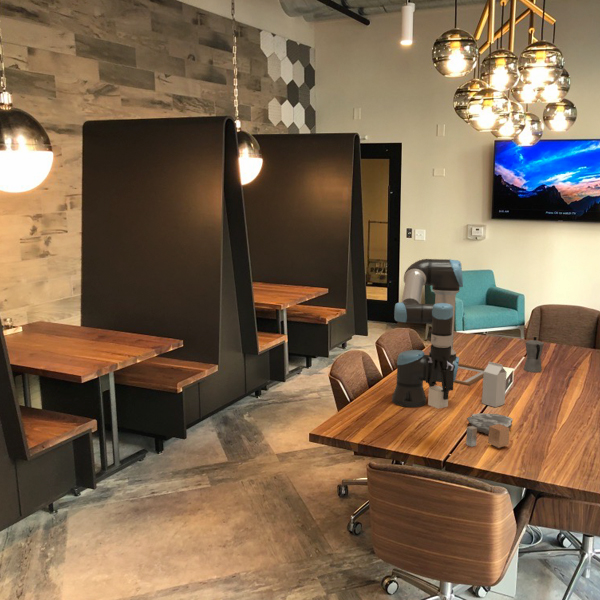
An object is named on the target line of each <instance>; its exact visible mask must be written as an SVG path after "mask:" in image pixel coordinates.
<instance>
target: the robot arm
mask: <svg viewBox="0 0 600 600" xmlns="http://www.w3.org/2000/svg"><path fill="white" fill-rule="evenodd" d="M403 282H404V286H403V292H402V298H401V301H400V302H397V303H395V305H394V314H393V315H394V317H393V318H394V321H396V322H400V323H413V324H415V323H416V324H430V325H431V335H430V337H431V338H430V344H431V345H430V349H429V351H428V353H429V354H425V352H424V350H419V349H409V350H405V351H402V352H400V353H399V354H398V355H397V362H396V365H397V367H396V385H395V389H394V392H393V393H392V396H391V402H392V403H393V404H395V405H396V406H399V407H404V408H405V407H406V408H418V407H423V406H425V405H426V404H427V396H426V394H425V390H424V389H425V388H424V385H423V384H424V382H425V383H426V384H428V386H429V387H428V389H429V388H431V387H437V384H438V383H441V387H442V389H443V390H441V399H440V408H439V409H444V408H447V399H448V400H449V392H450V391H453V390H454V383H453V382H454V381H455V380H457V375H458V374H457V373H458V370H459V368H458V364H460V363H459V362H460V357H459V356H457V352H456V350H455V349H454V330H455V312H456V298H457V296H456V295H457V294H458V293H459V292H460V289H461V288H462V287H464V280H463V270H462V263H461V261H460V260H458V259H451V258H449V259H443V258H442V259H441V258H438V259H437V258H433V259H432V258H423V259H419V260H417V261H415V262H413V263H411V265H410V266H408V267H407V268H406V270H405V272H404V275H403ZM424 286H431V287H432V289H431V290H432V292H434V294H435V301H434V304H433V303H422V295H423V289H424V288H423V287H424Z"/></svg>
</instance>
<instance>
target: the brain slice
mask: <svg viewBox="0 0 600 600" xmlns="http://www.w3.org/2000/svg"><path fill="white" fill-rule="evenodd" d="M466 419H467V422H468V423H469V424H470V426H474V427H476V428H477V432H479V433H481V434H482V433H483V434H484V435H488V436H489V426H492V425H496V424H501V425H503V426H506V427H508V428H510V429H511V427H512V423H513V420H514V418H512V417H509V416H507V415H502V414H499V413H485V412H483V413H473V414H471V415H470V416H468V417H466Z"/></svg>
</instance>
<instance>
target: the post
mask: <svg viewBox="0 0 600 600" xmlns="http://www.w3.org/2000/svg"><path fill="white" fill-rule="evenodd" d="M477 435H478V431H477V428H476V427H474V426H472V425H470V426H467V427H466V442H465V444H466V446H468V447H470V448H473V447H475V446H476V447H477V440H478V439H477V437H478V436H477Z"/></svg>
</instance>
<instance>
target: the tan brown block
mask: <svg viewBox="0 0 600 600" xmlns="http://www.w3.org/2000/svg"><path fill="white" fill-rule="evenodd" d="M510 430H511V427H510V428H508V427H506V426H503V425H501V424H496V425H492V426H489V435H488V440H487V441H488V442H487V443H488V444H490V445H492V446H493V447H495V448H497V449H500V448H504V447H505V446H509V442H510Z"/></svg>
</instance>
